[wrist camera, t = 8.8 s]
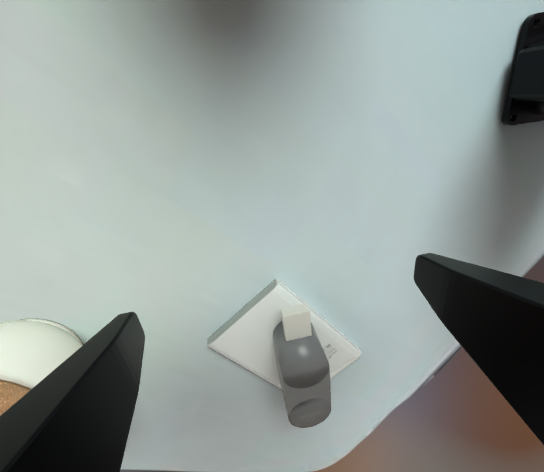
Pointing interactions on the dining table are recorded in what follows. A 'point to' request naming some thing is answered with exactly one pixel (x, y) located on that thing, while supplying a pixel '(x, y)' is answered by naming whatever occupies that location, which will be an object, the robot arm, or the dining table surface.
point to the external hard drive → (259, 335)
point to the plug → (302, 368)
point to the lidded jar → (31, 355)
